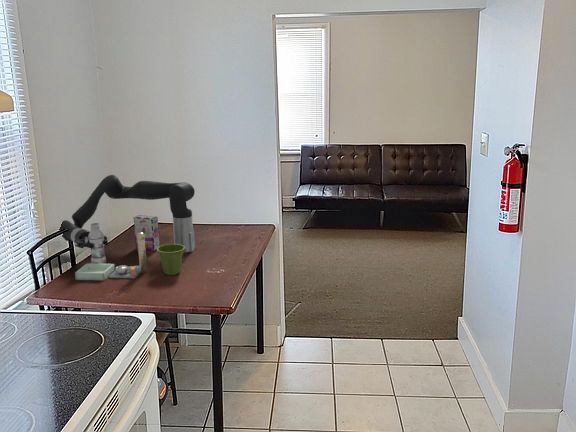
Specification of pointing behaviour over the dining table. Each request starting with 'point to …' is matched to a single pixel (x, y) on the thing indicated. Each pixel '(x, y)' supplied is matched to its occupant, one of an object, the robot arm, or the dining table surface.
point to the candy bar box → (147, 231)
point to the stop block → (132, 270)
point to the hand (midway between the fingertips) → (99, 244)
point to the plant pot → (171, 258)
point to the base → (124, 275)
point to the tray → (94, 271)
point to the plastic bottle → (97, 244)
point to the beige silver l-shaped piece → (142, 257)
